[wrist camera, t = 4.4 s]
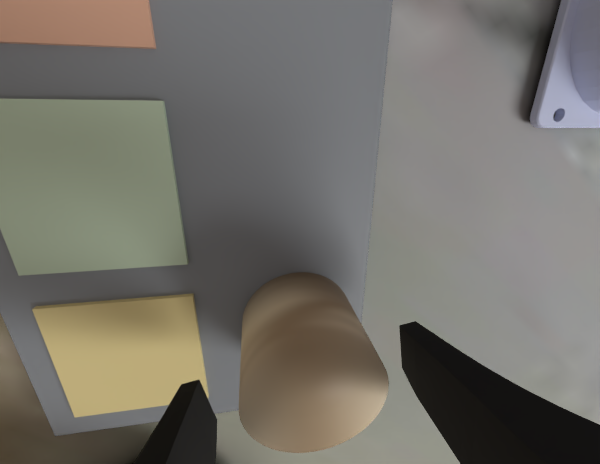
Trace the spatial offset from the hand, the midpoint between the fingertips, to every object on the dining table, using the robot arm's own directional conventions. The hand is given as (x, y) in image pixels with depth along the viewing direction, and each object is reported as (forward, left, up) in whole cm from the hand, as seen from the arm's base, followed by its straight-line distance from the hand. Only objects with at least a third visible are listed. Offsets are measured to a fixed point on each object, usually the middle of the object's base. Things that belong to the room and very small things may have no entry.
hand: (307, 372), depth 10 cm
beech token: (0, 0, -3) cm, 3 cm away
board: (+4, -6, -4) cm, 8 cm away
